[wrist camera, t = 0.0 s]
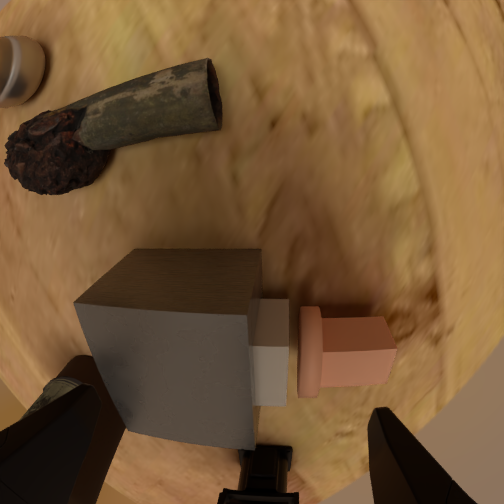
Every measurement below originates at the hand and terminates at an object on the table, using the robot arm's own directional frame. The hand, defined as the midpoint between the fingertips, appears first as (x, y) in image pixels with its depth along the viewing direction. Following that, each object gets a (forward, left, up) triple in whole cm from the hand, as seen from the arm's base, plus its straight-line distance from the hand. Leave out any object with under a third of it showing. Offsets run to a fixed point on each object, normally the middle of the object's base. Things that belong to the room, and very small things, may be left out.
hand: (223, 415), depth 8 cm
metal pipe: (+9, +11, -15) cm, 21 cm away
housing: (-6, +5, -15) cm, 17 cm away
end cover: (-6, -2, -14) cm, 15 cm away
